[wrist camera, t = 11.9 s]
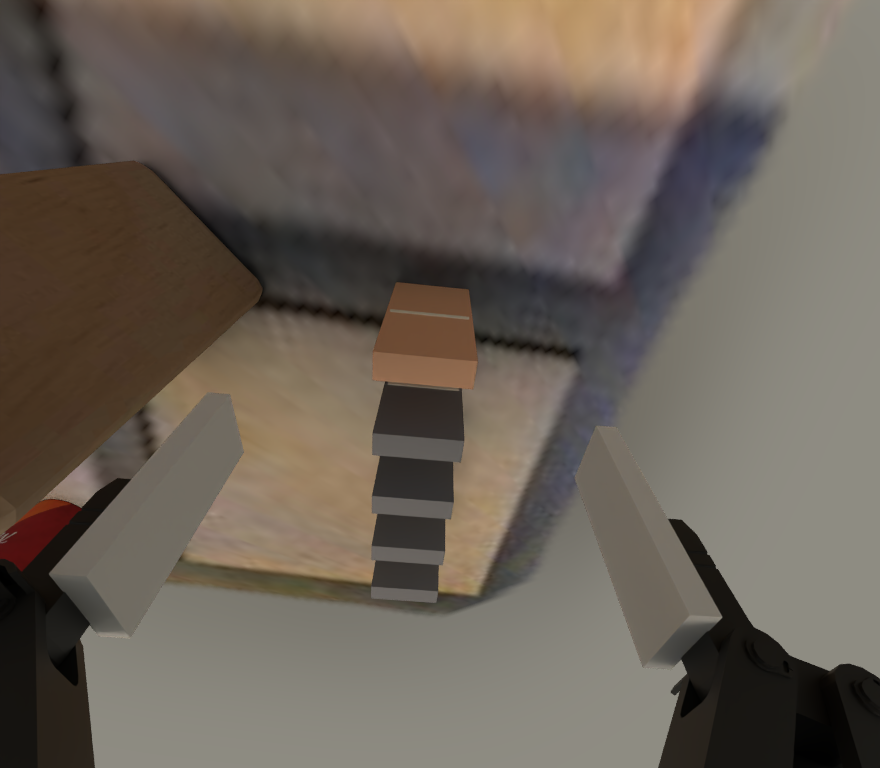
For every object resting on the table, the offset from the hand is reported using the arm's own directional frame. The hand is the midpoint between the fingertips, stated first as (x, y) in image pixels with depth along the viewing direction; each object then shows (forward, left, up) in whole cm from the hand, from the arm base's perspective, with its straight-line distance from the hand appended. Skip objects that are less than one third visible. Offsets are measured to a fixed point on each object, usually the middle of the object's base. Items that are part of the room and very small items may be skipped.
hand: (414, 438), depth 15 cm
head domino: (0, 0, -15) cm, 15 cm away
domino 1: (+5, 0, -15) cm, 16 cm away
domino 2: (+10, 0, -15) cm, 18 cm away
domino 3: (+15, 0, -15) cm, 21 cm away
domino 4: (+20, 0, -15) cm, 25 cm away
